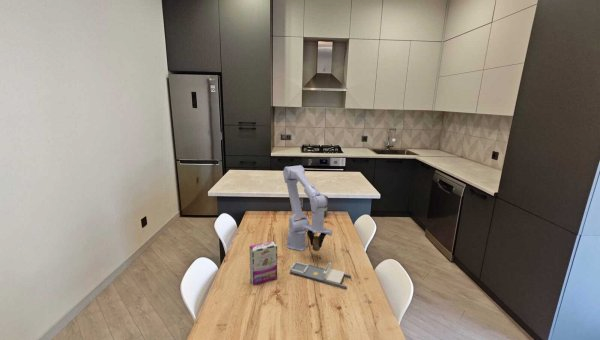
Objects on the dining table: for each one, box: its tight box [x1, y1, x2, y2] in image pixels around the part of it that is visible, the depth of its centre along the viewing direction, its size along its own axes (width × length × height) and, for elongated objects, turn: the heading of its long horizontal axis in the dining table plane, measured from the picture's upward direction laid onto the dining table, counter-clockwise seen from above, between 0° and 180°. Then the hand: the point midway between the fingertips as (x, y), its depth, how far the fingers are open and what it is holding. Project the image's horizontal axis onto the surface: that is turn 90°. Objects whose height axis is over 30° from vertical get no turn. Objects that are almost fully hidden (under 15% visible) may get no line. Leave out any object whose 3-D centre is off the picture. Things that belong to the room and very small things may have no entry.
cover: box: [323, 262, 346, 285], centre depth 124 cm, size 8×9×4 cm
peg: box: [312, 235, 321, 252], centre depth 137 cm, size 4×4×6 cm
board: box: [289, 261, 352, 290], centre depth 127 cm, size 27×9×2 cm, turn 68°
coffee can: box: [324, 195, 329, 219], centre depth 192 cm, size 10×10×14 cm
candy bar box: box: [249, 240, 278, 286], centre depth 122 cm, size 11×5×16 cm, turn 117°
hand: (316, 245), depth 137 cm, fingers closed on peg, 4 cm apart
